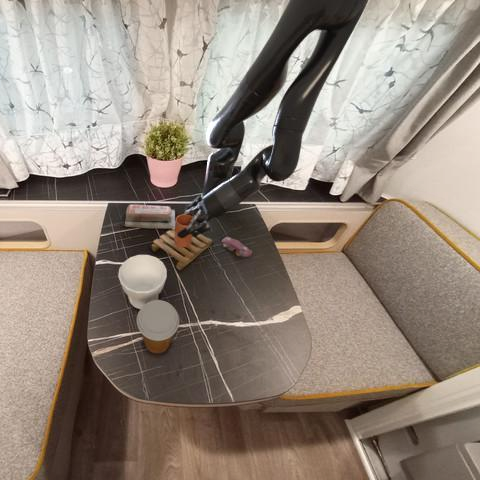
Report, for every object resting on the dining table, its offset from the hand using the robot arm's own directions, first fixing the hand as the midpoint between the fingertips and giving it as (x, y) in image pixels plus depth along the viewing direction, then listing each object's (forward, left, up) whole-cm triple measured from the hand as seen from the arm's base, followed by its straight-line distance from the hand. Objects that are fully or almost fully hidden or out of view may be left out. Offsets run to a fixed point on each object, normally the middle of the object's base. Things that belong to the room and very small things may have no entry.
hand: (178, 229), depth 85 cm
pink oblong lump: (-12, +15, -8) cm, 21 cm away
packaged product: (-4, -16, -8) cm, 19 cm away
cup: (+21, +6, -8) cm, 24 cm away
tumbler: (-1, +1, -5) cm, 6 cm away
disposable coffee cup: (+28, +18, -8) cm, 34 cm away
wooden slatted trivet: (-1, +1, -8) cm, 8 cm away
